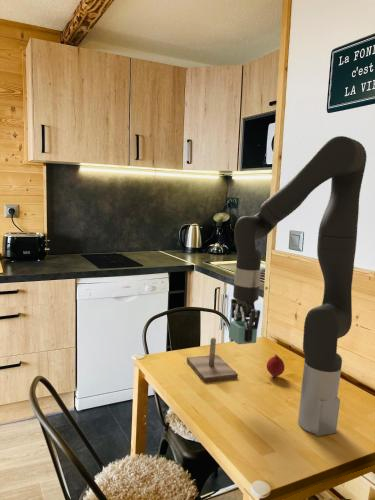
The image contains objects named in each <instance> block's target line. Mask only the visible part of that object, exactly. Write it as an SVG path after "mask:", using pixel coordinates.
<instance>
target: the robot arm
mask: <svg viewBox="0 0 375 500" xmlns="http://www.w3.org/2000/svg"><path fill="white" fill-rule="evenodd" d="M366 164H367V151H366V149H365V147H364V145H363V144H362V143H361V142H360V141H358V140H356V139H355V138H354V139H353V138H351V137H349V136H348V137H347V136H344V135H338V136H334V137H332V138H330V139H329V140H327V141H326V142H325V143H324V144H323V145H322V146H321V147H320V149H318V151H317V152H316V153H315V154H314V155H313V156H312V158H311V159H310V160H309V161H308V162H307V163H306V164H305V165H304V166H303V168H301V169H300V170H299V171H298V173H297V174H295V175H294V176H293V177H292V178H291V179H290V180H288V182H287V183H285V184H284V185H283V186H282V187H281V188H280V189H278V191H276V192H275V193H273V194H272V195H271V196H269V198H267V199H266V200H265V201H264V202H262V204H261V206H260V208H259V212H257V213H256V214H255V215H244V216H240V218H238V219H237V221H236V223H235V225H234V229H233V232H234V233H233V234H234V235H233V237H234V242H235V249H236V253H237V254H236V265H235V272H234V281H233V294H232V297H233V298H231V299H230V301H231V302H230V317H231V319H233V321H243V322H244V323H245V336H244V341H245V342H251V341H252V332H253V330H254V329H257V330H258V328H259V323H260V316H261V310H259V309H257V308H256V307H255V302H257V301H259V298H260V297H259V296H260V283H261V264H262V263H261V261H262V252H261V251H260V249H258V248H256V247H257V246H256V240H257V241H258V240H260V239H263V238H264V237H266V236H268V234H270V233H271V232H272V230H273V229H275V227H277V225H278V223H280V222H281V221H282V220H284V219H285V218H287V217H288V216H289V215H291V214H293V212H295V211H296V209H298V208H299V207H300V206H301V205H302V204H303V203H304V201H305V200H306V199H307V198H308V196H309V195H310V194H311V193H312V192H313V191H315V189H317V188H318V187H320V186H321V185H322V184H324V182H326V181H328V180H330V179H331V183H330V185H331V186H330V193H329V194H330V195H329V199H328V201H327V204H326V205H327V206H326V208H325V210H324V212H323V215H322V218H321V221H320V223H319V226H318V227H319V228H318V235H317V244H316V246H317V249H316V251H317V255H316V256H317V259H318V264H319V267H320V270H321V273H322V276H323V281H324V282H323V284H324V286H323V287H324V289H323V296H322V297H323V298H322V303H321V305H318V306H316V307H315V306H314V307H313V308H311V309H310V310H309V311H308V313H306V316H305V319H304V325H303V341H302V351H303V355H304V361H303V362H304V363H303V370H302V371H303V372H302V378H301V379H302V380H301V390H300V399H299V400H300V401H299V407H298V409H299V410H298V418H297V423H298V425H299V426H300V428H302V429H303V430H305V431H306V432H308V433H311V434H314V436H316V437H321V436H325V435H330V434H331V435H332V434H336V433H337V429H338V420H339V412H340V407H341V406H340V404H341V399H340V398H339V390H340V389H339V388H340V379H341V371H342V364H343V358H342V356H341V354H339V353H337V351H338V339H340V338H343V337H344V336H346V335H347V334H348V333H349V332H350V329H351V327H352V323H353V322H352V321H353V318H352V317H353V312H352V311H353V310H352V309H353V308H352V307H353V305H352V288H353V287H352V284H353V278H354V277H353V276H354V269H355V259H356V258H355V256H356V249H357V240H358V223H359V222H358V221H359V211H360V210H359V209H360V194H361V189H362V184H363V179H364V174H365V169H366ZM248 322H249V325H248Z"/></svg>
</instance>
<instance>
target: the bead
mask: <svg viewBox="0 0 375 500" xmlns="http://www.w3.org/2000/svg"><path fill="white" fill-rule="evenodd" d="M248 325H249V322H248ZM257 332H258V329H254V330H253V332H252V341H251V342H245V341H244V336H245V323H244V322H243V320H242V321H234V320H233V321H230V322H229V335H228V338H229V339H230V340H232V341H233V342H235V344H237V345H246V344H247V345H248V344H255V343H257V336H258V333H257Z"/></svg>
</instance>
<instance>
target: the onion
mask: <svg viewBox="0 0 375 500" xmlns="http://www.w3.org/2000/svg"><path fill="white" fill-rule="evenodd" d="M266 369H267V372H269V374H270V375H271V376H272V377H273V378H276V377H279V376H281V375H282V374H283V373H284V372H285V363H284V360H283V359H282V358H280V357H279V355H278V354H277V353H274V356H272V357H270V358H269V359H268V361H267V363H266Z"/></svg>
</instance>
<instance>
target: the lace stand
mask: <svg viewBox="0 0 375 500" xmlns="http://www.w3.org/2000/svg"><path fill="white" fill-rule="evenodd" d="M209 343H210V344H209V355H202V356H201V355H199V356H191V357H190V356H189V357H186V362H187V364H188V365H189V366H190V367H191V369H192V370H193V371H194V372H195V373H196V375H197V376H198V377H199V378H200V379H201V380H202V382H204V383H207V382H208V383H210V382H216V381H225V380H233V379H238V375H239V374H238V373H237V372H236V370H235V369H233V368H232V367H231V366H230V365H229V364H228V363H227V362H226V361H225V360H224V359H222V357H221V356H220V355H219V354H216V347H217V345H216V343H217V339H216V338H215V337H211V339H210V341H209Z"/></svg>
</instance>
